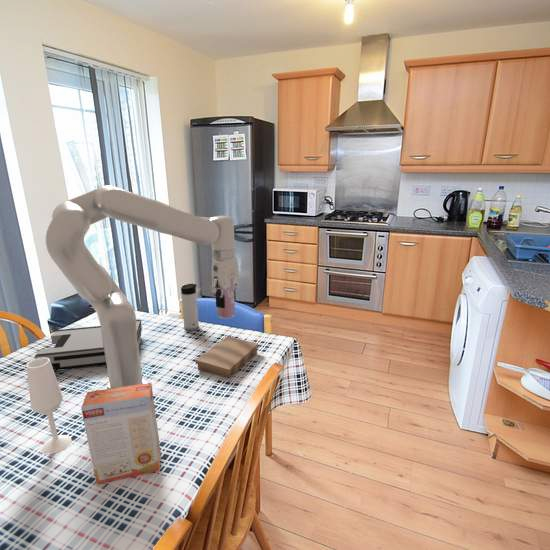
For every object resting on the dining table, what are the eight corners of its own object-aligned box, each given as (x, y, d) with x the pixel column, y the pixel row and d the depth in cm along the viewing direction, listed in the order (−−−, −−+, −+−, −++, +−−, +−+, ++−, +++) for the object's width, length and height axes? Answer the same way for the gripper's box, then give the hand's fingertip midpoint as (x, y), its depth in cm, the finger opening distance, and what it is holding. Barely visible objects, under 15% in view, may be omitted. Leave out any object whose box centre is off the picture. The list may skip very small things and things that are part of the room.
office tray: (58, 346, 144) (54, 327, 142) (143, 337, 151) (140, 319, 148) (38, 374, 125) (33, 353, 122) (136, 363, 131) (133, 343, 129)
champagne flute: (43, 439, 95) (24, 358, 88) (72, 432, 98) (56, 353, 90) (39, 457, 89) (18, 372, 82) (70, 449, 92) (52, 366, 85)
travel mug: (197, 331, 156) (194, 287, 150) (182, 331, 156) (178, 287, 150) (201, 324, 161) (197, 282, 155) (186, 324, 162) (182, 282, 156)
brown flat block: (229, 380, 120) (229, 369, 119) (196, 369, 126) (195, 359, 125) (258, 353, 137) (258, 343, 136) (228, 345, 144) (227, 336, 142)
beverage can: (226, 310, 131) (225, 271, 126) (238, 315, 127) (237, 274, 123) (214, 316, 126) (211, 275, 122) (226, 320, 123) (224, 278, 118)
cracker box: (161, 453, 90) (152, 380, 84) (160, 472, 85) (150, 396, 79) (100, 464, 87) (86, 389, 81) (95, 484, 82) (80, 406, 75)
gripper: (217, 261, 111) (220, 315, 116) (246, 249, 126) (248, 297, 131) (198, 258, 114) (201, 311, 120) (228, 247, 129) (230, 294, 134)
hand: (226, 303), depth 125 cm, fingers closed on beverage can, 6 cm apart
